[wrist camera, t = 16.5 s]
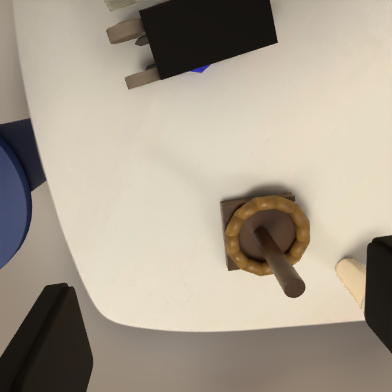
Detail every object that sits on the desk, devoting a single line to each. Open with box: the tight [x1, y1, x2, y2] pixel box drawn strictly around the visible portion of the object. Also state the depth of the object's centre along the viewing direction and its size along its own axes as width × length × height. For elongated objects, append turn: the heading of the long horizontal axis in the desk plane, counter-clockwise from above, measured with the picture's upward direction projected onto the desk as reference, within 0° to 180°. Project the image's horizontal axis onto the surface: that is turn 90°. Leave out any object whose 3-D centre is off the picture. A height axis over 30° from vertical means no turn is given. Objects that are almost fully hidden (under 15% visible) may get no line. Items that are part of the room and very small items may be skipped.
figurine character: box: [106, 0, 278, 89], centre depth 33 cm, size 7×8×15 cm
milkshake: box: [335, 258, 366, 313], centre depth 42 cm, size 4×5×10 cm
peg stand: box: [220, 192, 305, 298], centre depth 37 cm, size 9×9×14 cm
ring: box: [225, 195, 310, 276], centre depth 41 cm, size 10×10×2 cm
